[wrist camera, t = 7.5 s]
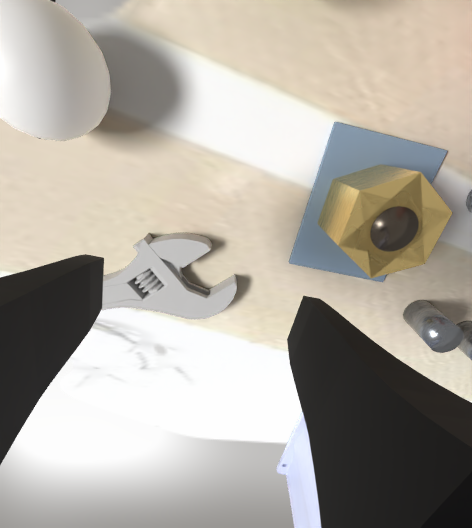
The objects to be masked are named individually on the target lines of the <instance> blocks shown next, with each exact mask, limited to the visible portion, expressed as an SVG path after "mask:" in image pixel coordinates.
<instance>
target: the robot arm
mask: <svg viewBox="0 0 472 528" xmlns="http://www.w3.org/2000/svg"><path fill="white" fill-rule="evenodd" d="M103 268H104V258H102V257H96V256H91V255H86V254H85V255H80V256H75V257H71V258H68V259H64V260H61V261H58V262H54V263H51V264H48V265H44V266H41V267H37V268H34V269H31V270H27V271H24V272H20V273H16V274H12V275H8V276H5V277H1V278H0V464H1V463H2V461H3V459H4V458H5V456H6V454H7V452H8V451H9V449H10V447H11V445H12V444H13V442H14V440H15V438H16V437H17V435H18V433H19V432H20V430H21V428H22V426H23V425H24V423H25V422H26V420H27V418H28V417H29V415H30V413H31V412H32V410H33V408H34V407H35V405H36V404H37V402H38V400H39V399H40V397H41V396H42V394H43V393H44V392H45V390H46V389H47V387H48V386H49V384H50V383H51V382H52V380H53V379H54V378H55V376H56V375H57V374H58V372H59V371H60V370H61V368H62V367H63V366H64V365H65V363H66V362H67V361H68V359H69V358H70V357H71V355H72V354H73V353H74V351H75V350H76V349H77V347H78V346H79V345H80V343H81V342H82V340H83V339H84V338H85V336H86V335H87V334H88V332H89V331H90V329H91V327H92V326H93V324H94V322H95V320H96V318H97V316H98V315H99V313H100V311H101V309H102V299H103ZM287 341H288V351H289V359H290V365H291V369H292V373H293V377H294V381H295V385H296V389H297V392H298V396H299V400H300V404H301V407H302V413H301V415H300V417H299V420H298V422H297V424H296V426H295V428H294V431H293V433H292V435H291V437H290V439H289V441H288V444H287V446H286V448H285V450H284V452H283V455H282V457H281V459H280V461H279V464H278V466H277V472H278V473H279V474H284V475H286V476H287V483H288V490H289V496H290V502H291V509H292V515H293V521H294V528H472V403H471V402H469V401H467V400H465V399H463V398H461V397H460V396H458V395H456V394H454V393H452V392H451V391H449V390H447V389H445V388H444V387H442V386H440V385H438V384H437V383H435V382H433V381H431V380H430V379H428V378H427V377H425V376H423V375H422V374H420V373H418V372H417V371H415V370H414V369H412V368H411V367H409V366H408V365H406V364H405V363H403V362H402V361H400V360H399V359H397V358H396V357H394V356H393V355H391V354H390V353H389V352H387V351H386V350H385V349H383V348H382V347H380V346H379V345H378V344H376V343H375V342H374V341H372V340H371V339H370V338H369V337H367V336H366V335H365V334H364V333H362V332H361V331H360V330H359V329H357V328H356V327H355V326H354V325H352V324H351V323H350V322H349V321H348V320H346V319H345V318H344V317H343V316H341V315H340V314H339V313H338V312H337V311H335V310H334V309H333V308H332V307H330V306H329V305H328V304H326V303H325V302H324V301H322V300H320V299H318V298H312V297H307V296H303V299H302V301H301V304H300V307H299V309H298V312H297V315H296V318H295V320H294V323H293V326H292V328H291V331H290V334H289V336H288V339H287Z"/></svg>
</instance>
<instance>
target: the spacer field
mask: <svg viewBox="0 0 472 528" xmlns="http://www.w3.org/2000/svg"><path fill="white" fill-rule="evenodd" d="M467 208H468V210H469V211H470V212H471V213H472V190H471V192H470V193H469V195H468V198H467ZM403 317H404V320H405V321H406V322H407V323H408V324H409V325H410V326H411V327H412V328H413V330H414V331H415V332H416V333H417V334H418V335H419V336H420V337H421V338H422V339H423V340H424V341H425V342H426V344H427V345H428V346H429V347H430V348H431V349H432V350H433V351H435V352H439V353H443V352H448V351H451V350H453V349H455V348H456V347H458V348H459V349H460V350H461V351H462V352H463V353H464V354H466V355H467V356H468V357H469V358H470V359H471V360H472V322H471V321H465V322H461V323H459V324H457V325H455V324H454V323H453V322H452V321H451V320H449V319H448V318H447V317H446V316H445V315H444V314H442V313H441V312H440V311H439V310H438V309H437V308H435V307H434V306H433V305H432V304H431V303H429V302H428V301H425V300H419V301H415V302H413V303H411V304H410V305H408V306H407V308H406V309H405V311H404V314H403Z"/></svg>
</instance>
